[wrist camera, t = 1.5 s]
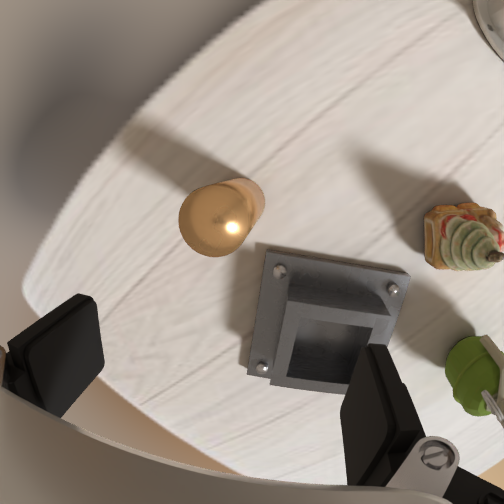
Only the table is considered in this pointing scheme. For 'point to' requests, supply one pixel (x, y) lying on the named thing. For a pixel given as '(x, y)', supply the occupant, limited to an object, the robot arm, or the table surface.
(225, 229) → the copper cylindrical peg
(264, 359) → the flange fitting
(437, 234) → the ornament
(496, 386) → the grenade
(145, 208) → the table surface
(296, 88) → the table surface
